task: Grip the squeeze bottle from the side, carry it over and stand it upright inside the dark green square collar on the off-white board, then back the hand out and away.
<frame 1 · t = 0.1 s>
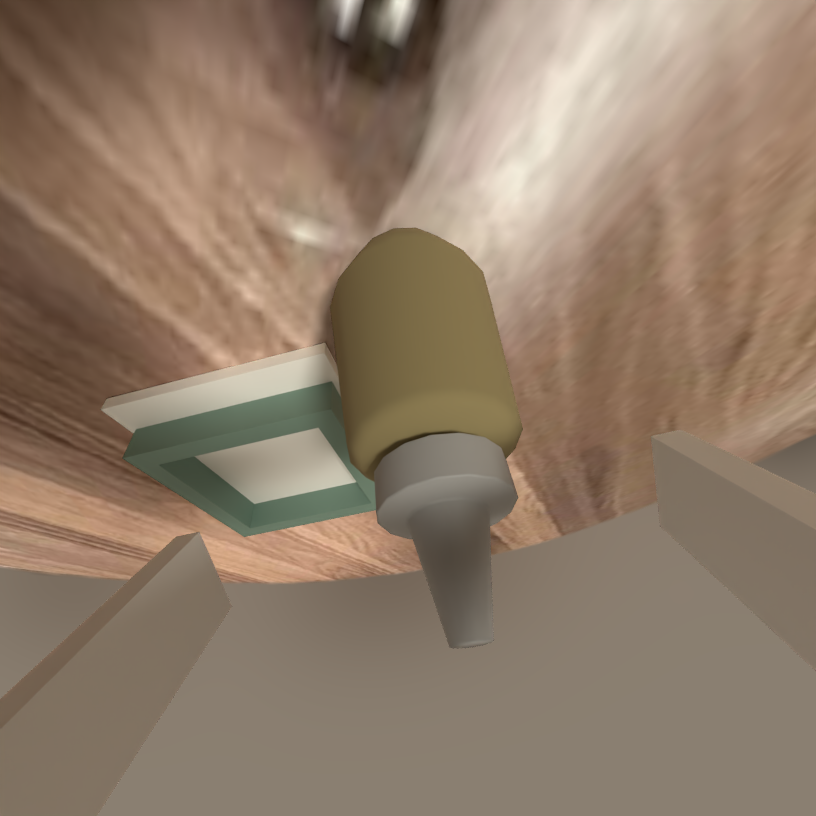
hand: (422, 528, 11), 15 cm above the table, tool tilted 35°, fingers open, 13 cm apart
collar stand: (283, 450, 33), on the table
squeeze bottle: (403, 275, 22), on the table
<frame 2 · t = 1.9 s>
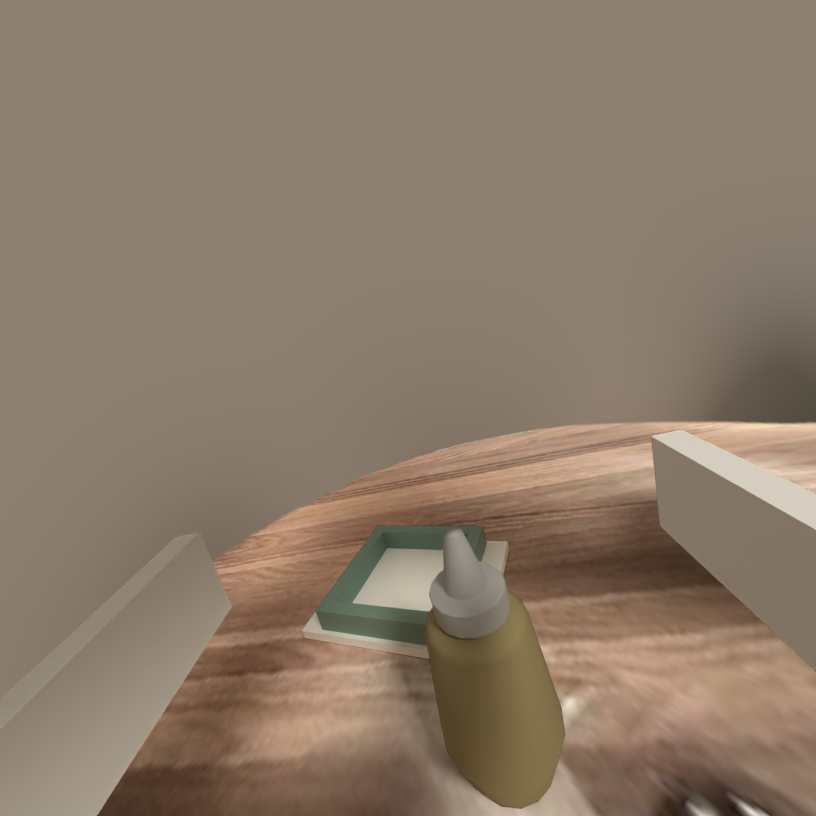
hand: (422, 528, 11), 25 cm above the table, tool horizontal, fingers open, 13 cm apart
collar stand: (413, 590, 44), on the table
squeeze bottle: (511, 758, 26), on the table
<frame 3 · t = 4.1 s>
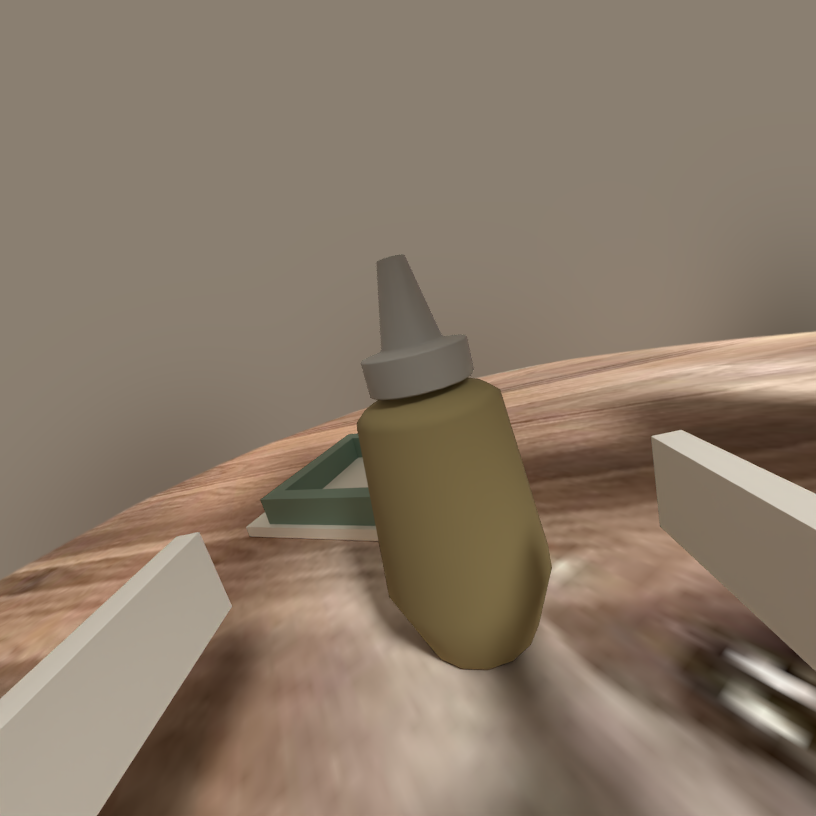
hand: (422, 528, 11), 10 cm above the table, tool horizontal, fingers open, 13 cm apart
collar stand: (381, 489, 37), on the table
squeeze bottle: (480, 623, 19), on the table
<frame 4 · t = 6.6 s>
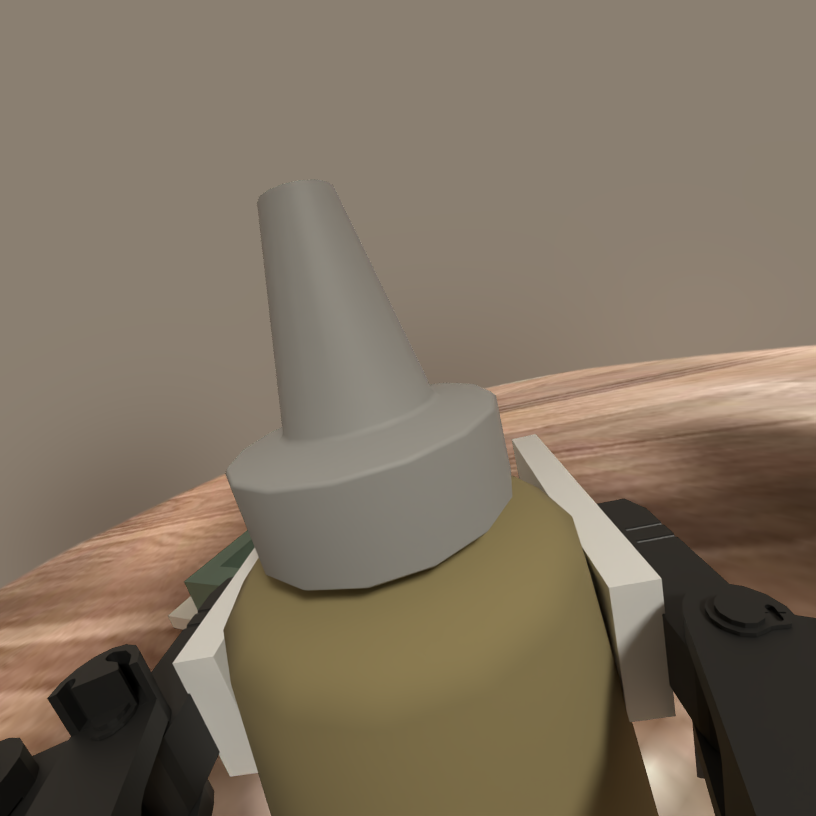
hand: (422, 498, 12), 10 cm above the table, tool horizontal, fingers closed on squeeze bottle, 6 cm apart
collar stand: (358, 554, 28), on the table
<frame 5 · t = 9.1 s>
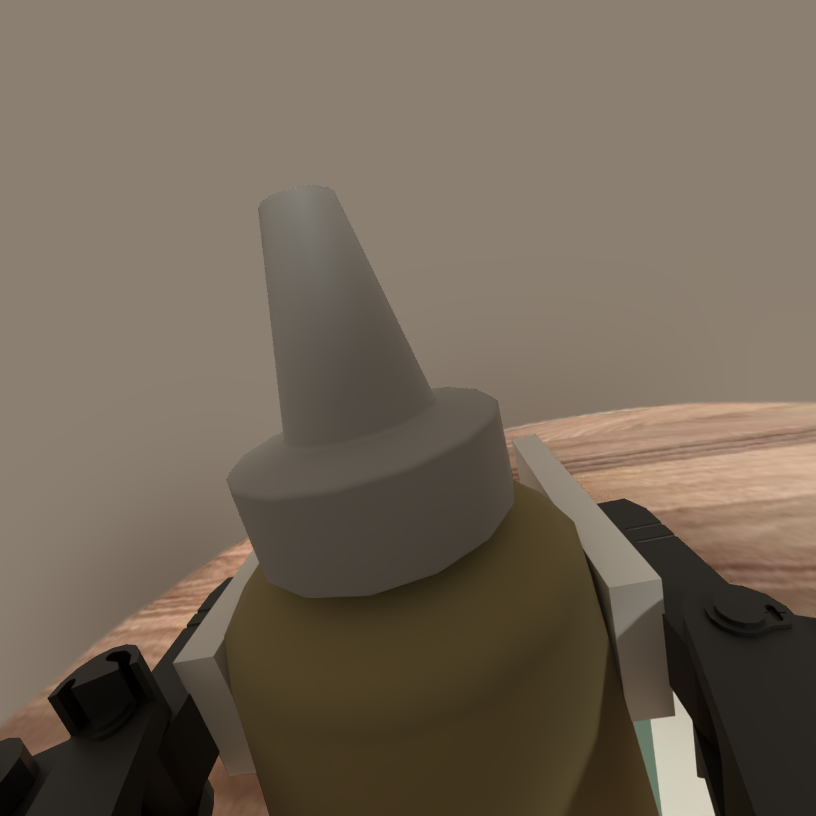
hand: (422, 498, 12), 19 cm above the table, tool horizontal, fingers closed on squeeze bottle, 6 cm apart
collar stand: (499, 742, 21), on the table
when the fingers open (13 cm above the table, at t = 11.8 s): squeeze bottle drops 1 cm, resting on collar stand.
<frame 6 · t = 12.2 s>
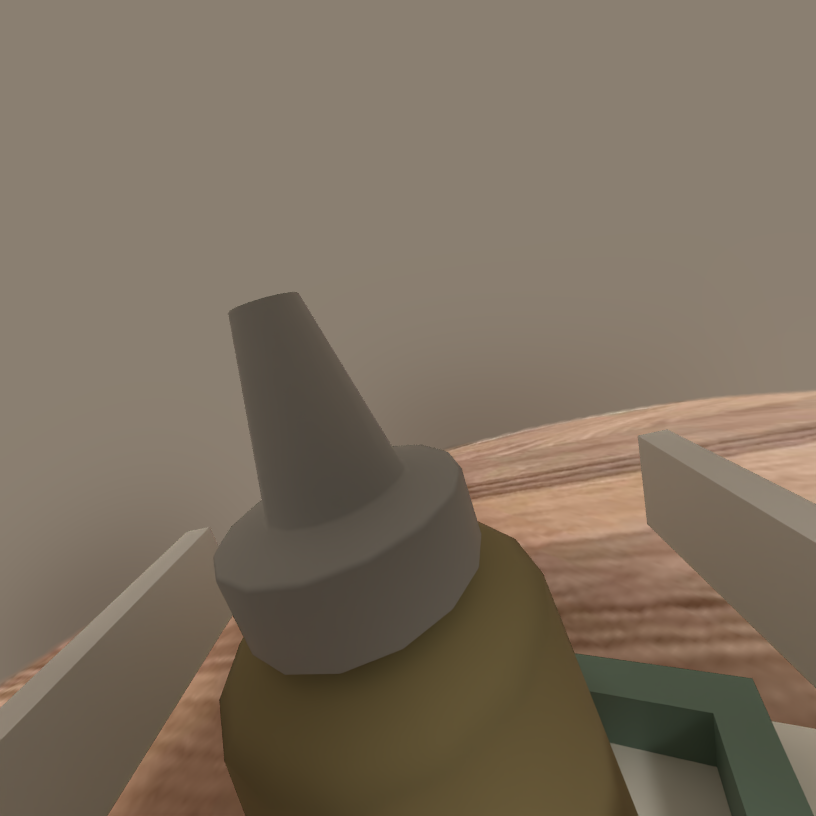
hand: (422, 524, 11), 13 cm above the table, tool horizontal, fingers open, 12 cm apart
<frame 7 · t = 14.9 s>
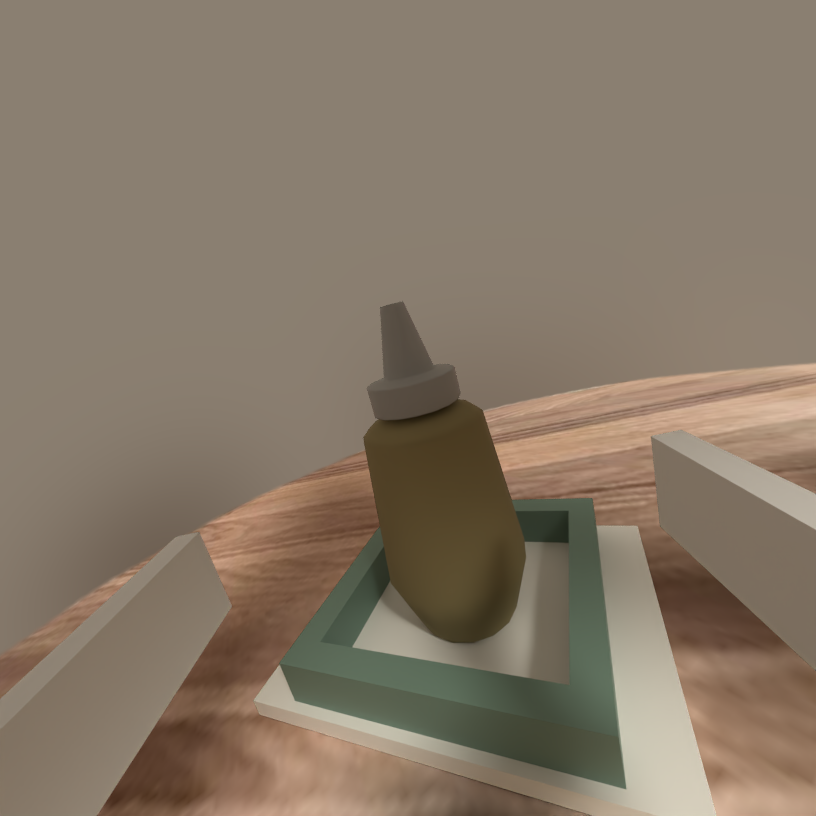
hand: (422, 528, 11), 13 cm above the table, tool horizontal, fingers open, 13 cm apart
collar stand: (471, 616, 23), on the table
squeeze bottle: (468, 606, 23), point 1 cm above the table, touching collar stand
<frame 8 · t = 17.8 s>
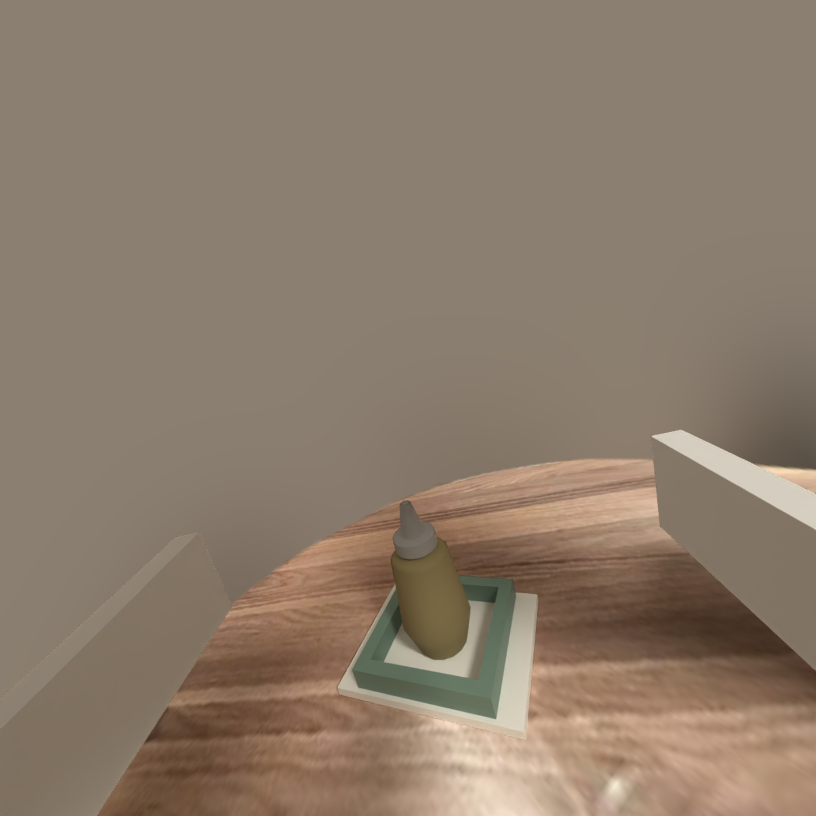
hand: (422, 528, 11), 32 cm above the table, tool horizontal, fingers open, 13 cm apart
collar stand: (445, 644, 44), on the table
squeeze bottle: (443, 640, 44), point 1 cm above the table, touching collar stand
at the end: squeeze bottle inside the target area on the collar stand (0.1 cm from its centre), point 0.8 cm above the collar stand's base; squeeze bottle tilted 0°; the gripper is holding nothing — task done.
